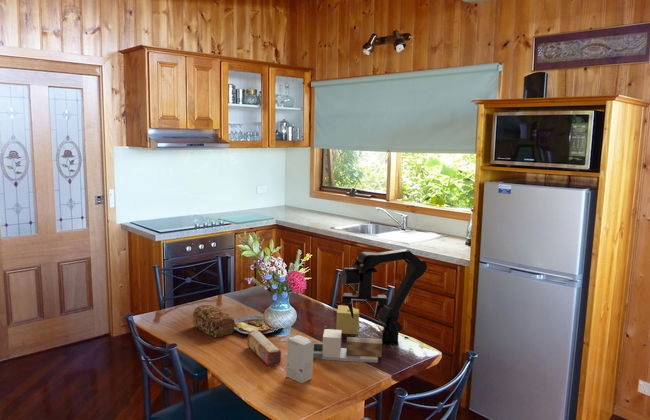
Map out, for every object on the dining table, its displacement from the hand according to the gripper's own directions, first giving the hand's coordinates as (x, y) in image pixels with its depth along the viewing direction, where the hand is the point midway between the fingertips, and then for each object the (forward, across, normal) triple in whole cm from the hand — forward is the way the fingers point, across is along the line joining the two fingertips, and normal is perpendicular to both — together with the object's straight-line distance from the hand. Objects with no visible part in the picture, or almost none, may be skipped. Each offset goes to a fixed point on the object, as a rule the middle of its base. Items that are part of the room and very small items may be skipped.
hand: (363, 318), depth 226 cm
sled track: (+12, +7, +11) cm, 18 cm away
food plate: (+13, +48, -14) cm, 51 cm away
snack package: (+12, +39, +15) cm, 44 cm away
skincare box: (+12, +23, +33) cm, 42 cm away
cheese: (+12, +7, -17) cm, 22 cm away
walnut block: (+11, 0, +11) cm, 15 cm away
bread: (+12, +66, -8) cm, 68 cm away
